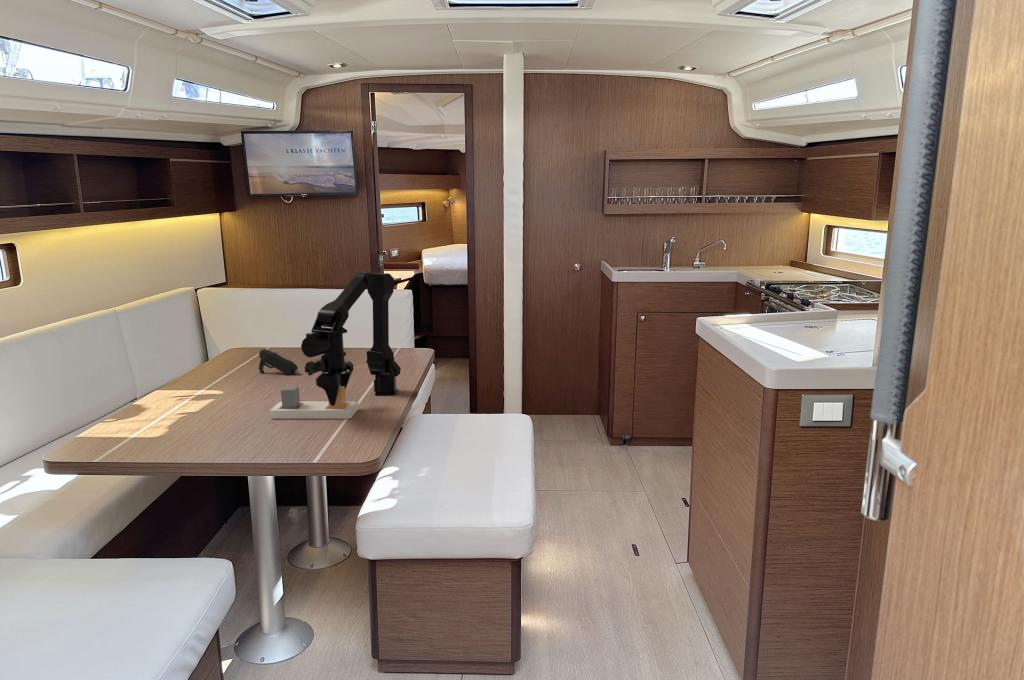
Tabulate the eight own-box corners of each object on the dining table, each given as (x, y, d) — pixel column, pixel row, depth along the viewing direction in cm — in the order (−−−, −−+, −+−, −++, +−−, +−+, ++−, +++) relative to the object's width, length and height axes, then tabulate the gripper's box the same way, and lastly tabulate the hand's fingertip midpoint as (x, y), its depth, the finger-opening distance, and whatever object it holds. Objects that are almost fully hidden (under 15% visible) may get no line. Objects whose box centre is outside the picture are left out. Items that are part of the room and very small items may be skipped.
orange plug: (346, 411, 209) (344, 386, 207) (342, 415, 205) (341, 390, 203) (333, 411, 209) (331, 386, 207) (329, 415, 205) (327, 390, 203)
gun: (289, 390, 253) (299, 367, 250) (251, 369, 254) (261, 346, 251) (293, 388, 255) (302, 365, 253) (256, 367, 257) (265, 344, 254)
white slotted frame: (358, 409, 211) (357, 401, 210) (350, 418, 202) (350, 410, 202) (280, 409, 212) (280, 401, 211) (269, 418, 203) (269, 410, 202)
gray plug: (300, 411, 209) (298, 386, 207) (296, 415, 205) (294, 390, 204) (287, 411, 209) (285, 386, 208) (283, 416, 205) (280, 390, 204)
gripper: (316, 343, 212) (320, 392, 215) (296, 357, 194) (300, 410, 197) (352, 343, 212) (355, 392, 215) (335, 357, 193) (338, 410, 197)
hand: (337, 400), depth 206 cm, fingers open, 9 cm apart
